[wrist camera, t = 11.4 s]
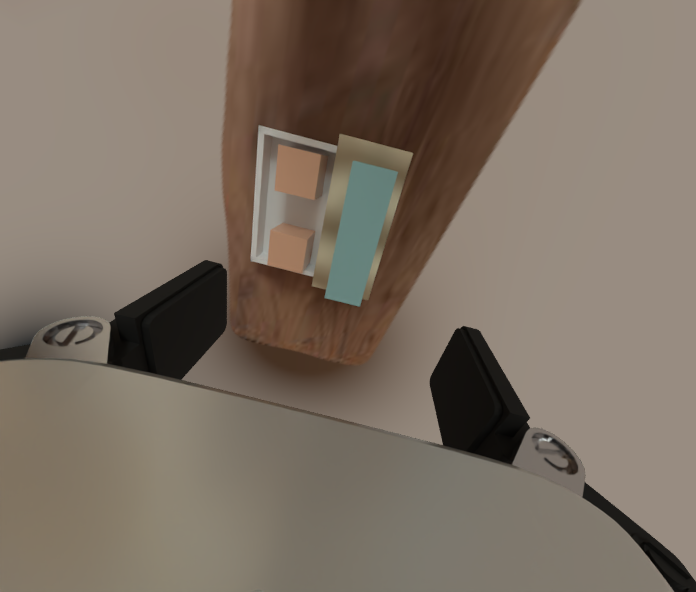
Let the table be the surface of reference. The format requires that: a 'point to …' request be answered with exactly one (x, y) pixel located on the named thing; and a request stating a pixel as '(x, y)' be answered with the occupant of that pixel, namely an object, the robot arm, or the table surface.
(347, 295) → the bar
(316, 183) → the tan cube
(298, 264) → the peach cube
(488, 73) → the table surface
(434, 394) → the robot arm
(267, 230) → the tray
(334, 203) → the beige gold flat block
